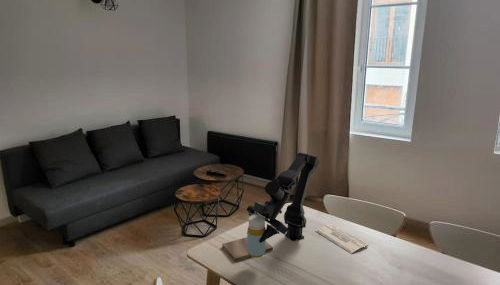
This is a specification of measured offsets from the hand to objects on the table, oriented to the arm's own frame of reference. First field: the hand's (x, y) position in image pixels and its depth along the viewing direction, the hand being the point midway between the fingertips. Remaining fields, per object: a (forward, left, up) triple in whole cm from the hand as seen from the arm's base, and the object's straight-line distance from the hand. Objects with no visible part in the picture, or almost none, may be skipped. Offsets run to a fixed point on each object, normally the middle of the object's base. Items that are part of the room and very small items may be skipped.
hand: (253, 238), depth 131 cm
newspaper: (-47, -1, -14) cm, 49 cm away
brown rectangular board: (-4, -12, -13) cm, 18 cm away
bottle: (-2, 0, -7) cm, 8 cm away
